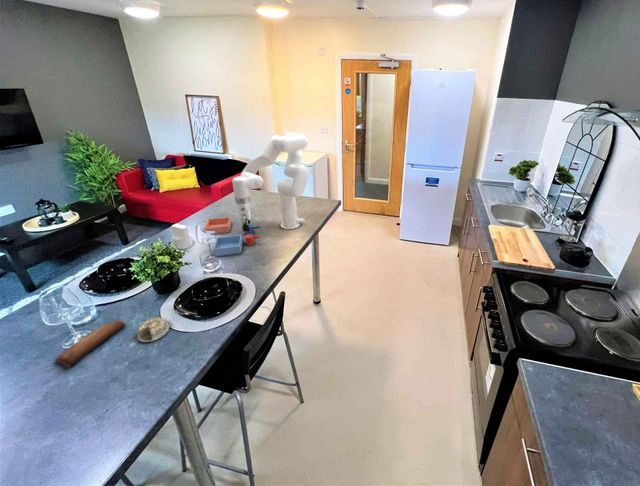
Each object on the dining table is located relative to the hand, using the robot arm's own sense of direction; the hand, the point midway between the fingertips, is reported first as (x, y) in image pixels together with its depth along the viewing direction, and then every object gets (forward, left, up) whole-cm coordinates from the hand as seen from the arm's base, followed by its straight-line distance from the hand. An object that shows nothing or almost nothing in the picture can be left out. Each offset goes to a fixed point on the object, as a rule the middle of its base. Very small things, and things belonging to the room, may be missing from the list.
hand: (246, 227), depth 164 cm
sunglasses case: (+50, +59, -11) cm, 78 cm away
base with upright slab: (+36, -8, -11) cm, 38 cm away
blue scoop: (-1, -13, -11) cm, 17 cm away
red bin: (+20, -24, -11) cm, 33 cm away
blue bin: (+11, +3, -11) cm, 15 cm away
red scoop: (-2, 0, -11) cm, 11 cm away
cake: (+31, +59, -11) cm, 67 cm away
